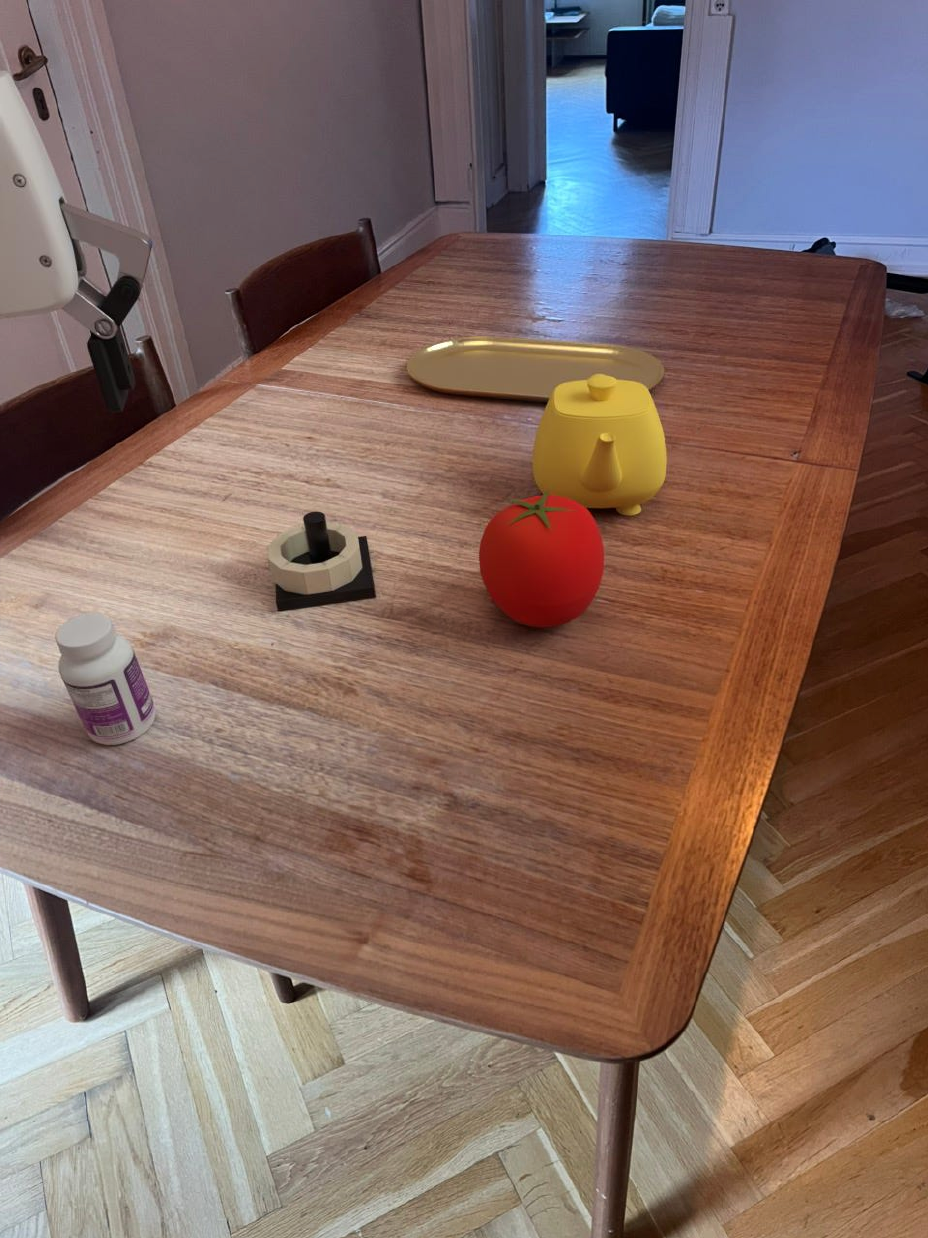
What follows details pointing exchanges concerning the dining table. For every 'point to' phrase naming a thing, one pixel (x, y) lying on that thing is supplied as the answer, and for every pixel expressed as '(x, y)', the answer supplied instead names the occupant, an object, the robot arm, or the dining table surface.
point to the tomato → (542, 560)
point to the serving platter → (525, 366)
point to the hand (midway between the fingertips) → (29, 413)
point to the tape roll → (314, 575)
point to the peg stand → (318, 554)
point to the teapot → (601, 444)
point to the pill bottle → (104, 680)
